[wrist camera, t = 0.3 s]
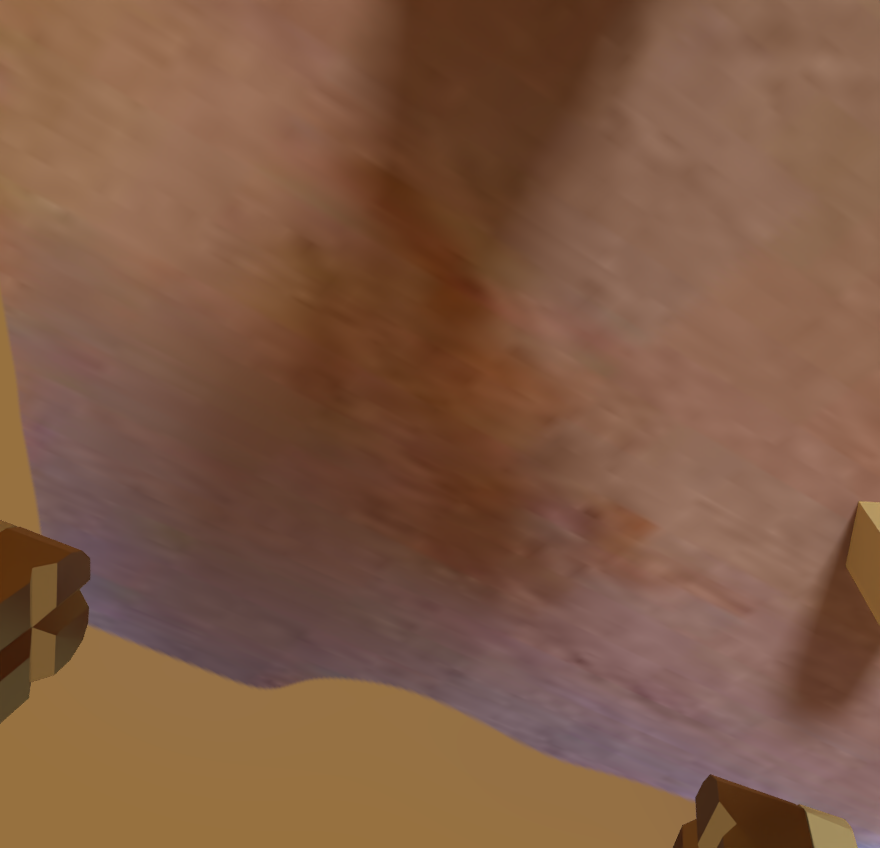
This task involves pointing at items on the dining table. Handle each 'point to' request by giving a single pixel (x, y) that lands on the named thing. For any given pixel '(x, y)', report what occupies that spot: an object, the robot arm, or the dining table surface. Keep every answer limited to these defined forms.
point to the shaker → (866, 554)
